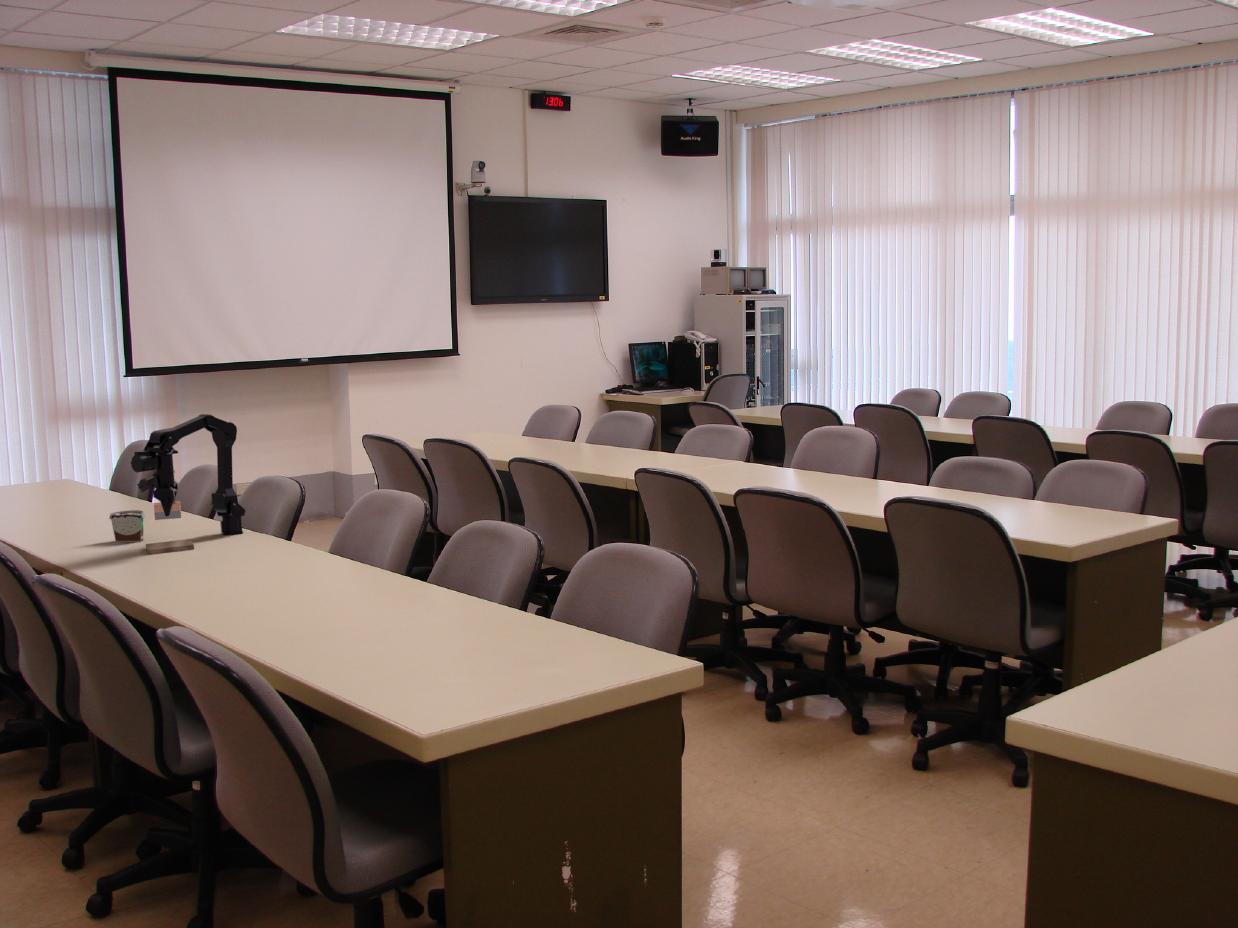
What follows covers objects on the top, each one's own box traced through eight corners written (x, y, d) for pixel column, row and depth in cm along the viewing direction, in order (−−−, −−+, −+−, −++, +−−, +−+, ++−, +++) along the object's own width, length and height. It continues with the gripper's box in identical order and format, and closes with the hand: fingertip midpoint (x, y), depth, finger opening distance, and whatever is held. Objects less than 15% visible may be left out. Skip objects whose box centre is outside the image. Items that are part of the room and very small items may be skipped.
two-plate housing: (155, 517, 365) (154, 502, 364) (181, 515, 368) (180, 500, 367) (154, 520, 360) (153, 505, 360) (180, 517, 363) (179, 503, 363)
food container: (154, 537, 383) (151, 509, 382) (145, 541, 377) (142, 513, 376) (121, 538, 385) (118, 510, 383) (111, 541, 379) (108, 513, 377)
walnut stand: (190, 543, 372) (190, 538, 372) (194, 549, 362) (193, 544, 362) (146, 548, 365) (145, 543, 365) (148, 554, 356) (148, 549, 356)
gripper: (141, 466, 368) (145, 512, 371) (134, 473, 351) (138, 521, 353) (176, 464, 372) (180, 509, 374) (171, 471, 354) (175, 518, 356)
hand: (168, 514), depth 364 cm, fingers closed on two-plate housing, 5 cm apart
